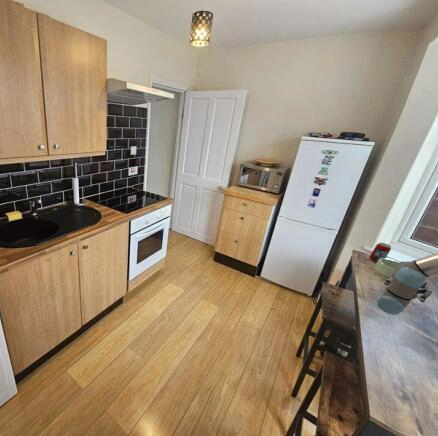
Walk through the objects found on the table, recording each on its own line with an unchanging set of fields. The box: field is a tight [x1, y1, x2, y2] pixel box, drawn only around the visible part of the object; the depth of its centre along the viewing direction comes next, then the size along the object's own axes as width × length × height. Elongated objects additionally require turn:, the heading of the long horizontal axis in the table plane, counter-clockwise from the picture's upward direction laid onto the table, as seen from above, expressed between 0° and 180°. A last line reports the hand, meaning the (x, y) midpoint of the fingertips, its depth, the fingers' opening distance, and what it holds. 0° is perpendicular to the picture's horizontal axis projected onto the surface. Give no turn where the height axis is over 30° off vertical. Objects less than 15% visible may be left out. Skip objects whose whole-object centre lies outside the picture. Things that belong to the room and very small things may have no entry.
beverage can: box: [368, 242, 392, 264], centre depth 145 cm, size 7×7×12 cm
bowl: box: [373, 257, 401, 279], centre depth 133 cm, size 15×15×6 cm
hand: (414, 280), depth 114 cm, fingers open, 6 cm apart
